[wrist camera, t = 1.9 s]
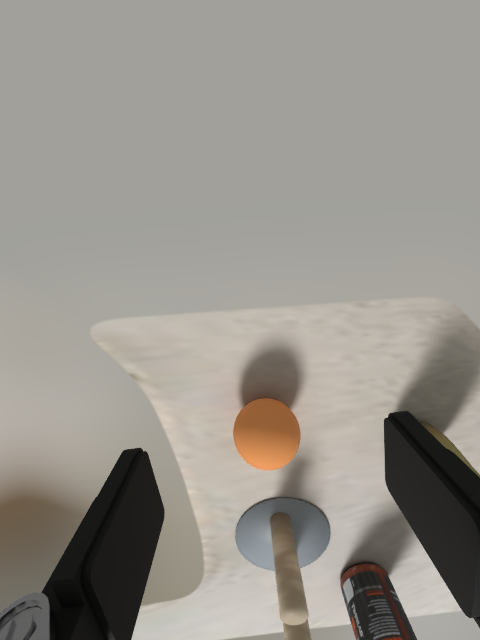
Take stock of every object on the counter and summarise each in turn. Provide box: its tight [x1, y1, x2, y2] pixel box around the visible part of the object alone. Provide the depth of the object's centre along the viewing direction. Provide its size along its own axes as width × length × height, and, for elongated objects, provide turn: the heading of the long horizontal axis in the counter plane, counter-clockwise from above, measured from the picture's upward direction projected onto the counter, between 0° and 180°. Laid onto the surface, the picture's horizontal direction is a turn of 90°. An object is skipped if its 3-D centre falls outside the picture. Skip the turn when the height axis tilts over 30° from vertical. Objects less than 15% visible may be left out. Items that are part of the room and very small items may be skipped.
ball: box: [233, 398, 300, 470], centre depth 25 cm, size 6×6×6 cm
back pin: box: [283, 619, 311, 640], centre depth 28 cm, size 2×2×8 cm
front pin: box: [270, 512, 309, 625], centre depth 27 cm, size 2×2×8 cm
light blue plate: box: [235, 498, 330, 571], centre depth 32 cm, size 11×11×1 cm
